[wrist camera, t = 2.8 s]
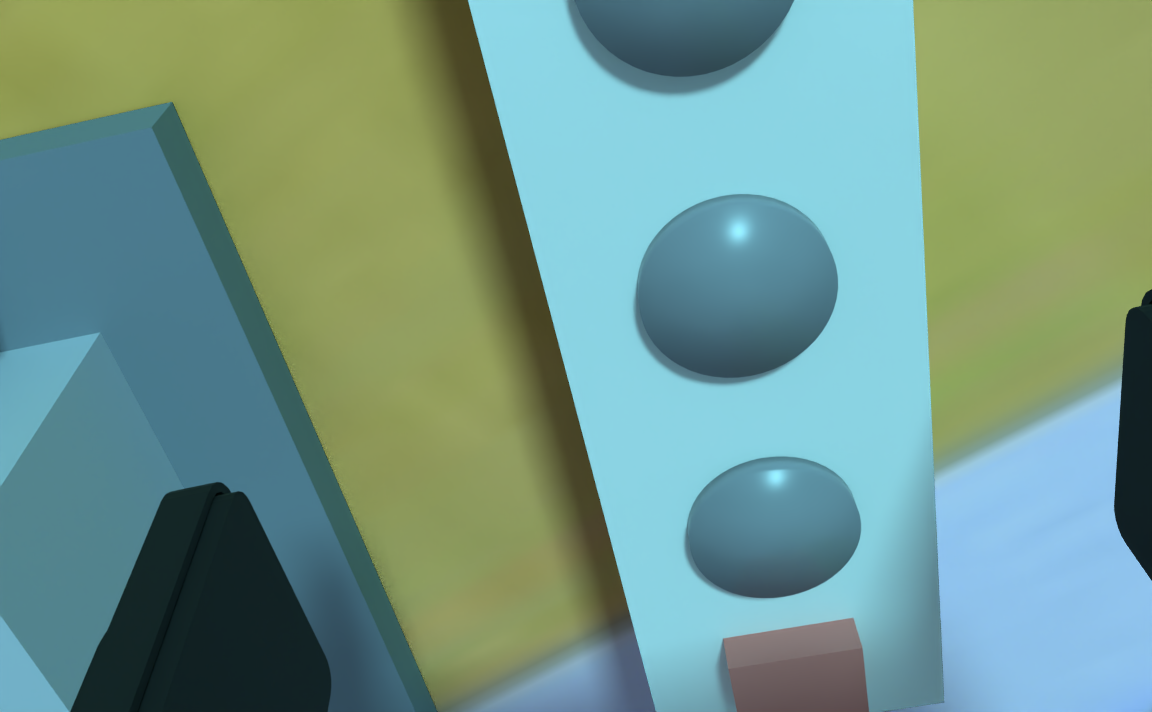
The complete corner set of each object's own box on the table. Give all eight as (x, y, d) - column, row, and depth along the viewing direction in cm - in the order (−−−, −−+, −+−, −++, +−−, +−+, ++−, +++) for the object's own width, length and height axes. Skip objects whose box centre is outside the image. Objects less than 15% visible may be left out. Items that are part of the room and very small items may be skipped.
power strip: (794, -483, 13) (908, -537, 9) (877, 519, 22) (955, 733, 17) (416, -385, 13) (355, -391, 9) (646, 558, 22) (668, 775, 18)
